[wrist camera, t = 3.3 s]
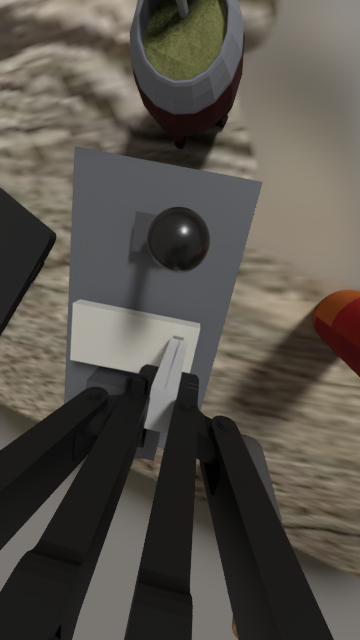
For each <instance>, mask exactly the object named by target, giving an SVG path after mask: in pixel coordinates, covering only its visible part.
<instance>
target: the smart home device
mask: <svg viewBox="0 0 360 640" xmlns="http://www.w3.org/2000/svg"><path fill="white" fill-rule="evenodd" d="M55 240H56V233H55V232H53V231H52V230H51V229H50V228H49V227H47V226H46V225H45V224H44V223H42V222H41V221H40V220H39V219H38V218H36V217H35V216H34V215H33V214H32V213H30V212H29V211H28V210H27V209H26V208H24V207H23V206H22V205H21V204H20V203H18V202H17V201H16V200H15V199H13V198H12V197H11V196H10V195H9V194H7V193H6V192H5V191H4V190H3V189H1V188H0V335H1V334H2V332H3V330H4V329H5V327H6V325H7V323H8V322H9V320H10V318H11V317H12V315H13V313H14V312H15V310H16V308H17V306H18V305H19V303H20V301H21V300H22V298H23V296H24V295H25V293H26V291H27V289H28V288H29V286H30V284H31V283H32V281H33V280H34V279H35V278H36V276H37V274H38V272H39V271H40V269H41V267H42V266H43V264H44V261H45V259H46V257H47V255H48V254H49V252H50V250H51V249H52V247H53V245H54V243H55Z"/></svg>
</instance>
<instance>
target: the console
mask: <svg viewBox="0 0 360 640" xmlns="http://www.w3.org/2000/svg"><path fill="white" fill-rule="evenodd" d="M261 185H262V182H260V181H254V180H249V179H244V178H239V177H233V176H228V175H223V174H218V173H212V172H207V171H202V170H196V169H191V168H186V167H181V166H175V165H170V164H165V163H160V162H154V161H149V160H144V159H139V158H133V157H128V156H123V155H117V154H112V153H107V152H102V151H96V150H91V149H86V148H81V147H75V155H74V179H73V204H72V228H71V253H70V278H69V302H68V327H67V351H66V376H65V401H64V404H65V403H67V402H68V401H70V400H71V399H72V398H74V397H75V396H77V395H78V394H79V393H81V392H82V391H83V390H85V389H87V388H90V387H101V388H104V389H105V390H107V392H108V395H121V394H123V393H124V391H125V383H126V378H127V377H129V376H131V375H136V374H138V373H134V372H129V371H124V370H119V369H114V368H109V367H104V366H99V365H94V364H89V363H84V362H79V361H74V360H70V354H71V332H72V311H73V303H74V302H76V301H78V300H80V299H81V300H86V301H91V302H96V303H101V304H106V305H111V306H116V307H121V308H126V309H131V310H136V311H141V312H146V313H151V314H156V315H161V316H166V317H171V318H176V319H181V320H186V321H190V322H195V323H200V332H199V337H198V341H197V345H196V349H195V353H194V358H193V362H192V366H191V370H190V374H195V375H197V377H198V379H199V392H198V408H199V410H201V406H202V403H203V399H204V395H205V392H206V388H207V384H208V381H209V377H210V373H211V370H212V366H213V362H214V359H215V355H216V351H217V347H218V344H219V340H220V336H221V333H222V329H223V325H224V322H225V318H226V314H227V311H228V307H229V303H230V300H231V296H232V292H233V289H234V285H235V281H236V278H237V274H238V270H239V266H240V263H241V259H242V255H243V252H244V248H245V244H246V241H247V237H248V233H249V230H250V226H251V222H252V219H253V215H254V211H255V208H256V204H257V200H258V196H259V193H260V189H261ZM171 207H186V208H189V209H191V210H193V211H195V212H196V213H198V214H199V215H200V216H201V217H202V218H203V220H204V221H205V223H206V225H207V227H208V230H209V234H210V246H209V250H208V253H207V255H206V257H205V259H204V260H203V261H202V263H201V264H200V265H199V266H197V267H196V268H195V269H193V270H191V271H188V272H185V273H172V272H169V271H166V270H164V269H163V268H161V267H160V266H158V265H157V264H156V263H155V261H154V260H153V258H152V257H151V255H150V253H149V250H148V245H147V240H146V238H145V232H146V230H147V228H149V227H150V225H151V223H152V221H153V220H154V218H155V217H156V216H157V215H158V214H159V213H161V212H162V211H164V210H166V209H168V208H171ZM166 439H167V434H166V433H162V432H158V431H153V430H149V429H145V428H144V427H143V431H142V436H141V439H140V442H139V445H138V447H137V450H136V453H135V456H137V457H141V458H145V459H149V460H152V461H154V457H155V453H156V450H157V447H161V448H165V443H166Z"/></svg>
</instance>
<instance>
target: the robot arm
mask: <svg viewBox="0 0 360 640" xmlns="http://www.w3.org/2000/svg"><path fill="white" fill-rule="evenodd" d="M187 345H188V342H187V341H183V340H178V339H174V338H171V339H170V342H169V344H168V347H167V349H166V352H165V354H164V357H163V359H162V362H161V364H160V367H158V366H153V365H149V364H146V365H144V366H143V367H141V369H140V371H139V373H138V374H136V375H131V376H129V377H127V378H126V383H125V391H124V393H123V394H121V395H108V392H107V390H105V389H104V388H101V387H90V388H87V389H85V390H83V391H82V392H81V393H79V394H78V395H77V396H75V397H74V398H72V399H71V400H70V401H68V402H67V403H65V404H64V405H63V406H61V407H60V408H59V409H57V410H56V411H54V412H53V413H52V414H50V415H49V416H47V417H46V418H45V419H43V420H42V421H40V422H39V423H38V424H36V425H35V426H34V427H32V428H31V429H29V430H28V431H27V432H26V433H24V434H22V435H21V436H20V437H18V438H17V439H16V440H14V441H13V442H11V443H10V444H9V445H7V446H6V447H4V448H3V449H2V450H0V550H1V549H2V548H3V547H4V546H5V545H6V544H7V542H8V541H9V540H10V539H11V538H12V537H13V536H14V535H15V534H16V532H17V531H18V530H19V529H20V528H21V527H22V526H23V525H24V524H25V523H26V522H27V521H28V519H29V518H30V517H31V516H32V515H33V514H34V513H35V512H36V511H37V510H38V509H39V507H40V506H41V505H42V504H43V503H44V502H45V501H46V500H47V499H48V498H49V497H50V495H51V494H52V493H53V492H54V491H55V490H56V489H57V488H58V487H59V485H61V483H62V482H63V481H64V480H65V479H66V478H67V477H68V476H69V475H70V474H71V472H72V471H73V470H74V469H75V468H76V467H77V466H78V465H79V464H80V463H81V461H83V459H84V458H85V457H86V456H87V455H88V456H87V458H86V460H85V461H84V463H83V465H82V467H81V468H80V470H79V472H78V474H77V475H76V477H75V479H74V481H73V482H72V484H71V486H70V488H69V490H68V491H67V493H66V495H65V497H64V498H63V500H62V502H61V503H60V505H59V507H58V509H57V510H56V512H55V514H54V516H53V518H52V519H51V521H50V523H49V524H48V526H47V528H46V530H45V531H44V533H43V535H42V537H41V538H40V540H39V542H38V543H37V545H36V546H35V547H34V548H33V549H32V550H30V551H28V552H26V553H25V555H24V556H23V557H22V558H21V559H20V561H19V562H18V564H17V566H16V567H15V568H14V570H13V572H12V573H11V575H10V577H9V578H8V580H7V582H6V583H5V585H4V587H3V588H2V590H1V592H0V640H72V638H73V634H74V630H75V627H76V623H77V619H78V616H79V613H80V610H81V607H82V604H83V601H84V598H85V595H86V593H87V590H88V587H89V584H90V581H91V578H92V575H93V573H94V570H95V567H96V564H97V561H98V558H99V555H100V552H101V550H102V547H103V544H104V541H105V538H106V536H107V533H108V530H109V527H110V524H111V521H112V519H113V516H114V513H115V510H116V507H117V504H118V501H119V499H120V496H121V493H122V490H123V487H124V484H125V482H126V479H127V476H128V473H129V470H130V467H131V465H132V462H133V459H134V456H135V453H136V450H137V447H138V445H139V442H140V439H141V436H142V431H143V427H144V428H145V429H149V430H153V431H158V432H162V433H166V434H167V439H166V443H165V448H164V452H163V457H162V462H161V467H160V472H159V476H158V481H157V486H156V491H155V495H154V500H153V505H152V510H151V514H150V519H149V524H148V529H147V533H146V538H145V543H144V548H143V552H142V557H141V562H140V566H139V571H138V576H137V581H136V585H135V590H134V595H133V600H132V604H131V609H130V614H129V619H128V624H127V628H126V633H125V637H124V640H192V607H193V605H192V596H191V594H190V570H191V551H192V531H193V513H194V494H195V475H196V458H197V459H199V460H200V466H201V471H202V476H203V480H204V485H205V489H206V494H207V498H208V503H209V507H210V512H211V516H212V521H213V526H214V530H215V535H216V539H217V544H218V548H219V553H220V558H221V562H222V567H223V571H224V576H225V580H226V585H227V589H228V594H229V599H230V603H231V608H232V612H233V617H234V621H235V626H236V631H237V635H238V640H334V639H333V637H332V635H331V633H330V630H329V628H328V626H327V624H326V622H325V620H324V617H323V615H322V613H321V611H320V609H319V606H318V604H317V602H316V599H315V597H314V595H313V593H312V591H311V588H310V586H309V584H308V582H307V580H306V578H305V575H304V573H303V571H302V569H301V566H300V564H299V562H298V560H297V558H296V555H295V553H294V551H293V549H292V546H291V544H290V542H289V540H288V538H287V535H286V533H285V531H284V529H283V527H282V524H281V522H280V520H279V518H278V516H277V513H276V511H275V509H274V507H273V504H272V502H271V500H270V498H269V496H268V493H267V491H266V489H265V487H264V485H263V482H262V480H261V478H260V476H259V474H258V471H257V469H256V467H255V465H254V462H253V460H252V458H251V456H250V454H249V451H248V449H247V447H246V445H245V443H244V440H243V438H242V436H241V434H240V432H239V429H238V427H237V425H236V424H235V422H234V421H232V420H231V419H230V418H228V417H225V416H215V417H214V418H213V419H211V418H209V417H207V416H205V415H204V414H203V413H201V411H200V410H199V408H198V392H199V379H198V377H197V375H195V374H190V373H186V372H182V369H183V364H184V359H185V355H186V350H187Z"/></svg>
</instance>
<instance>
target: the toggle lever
mask: <svg viewBox="0 0 360 640" xmlns="http://www.w3.org/2000/svg"><path fill="white" fill-rule="evenodd" d="M145 238H146V240H147V245H148V250H149V253H150V255H151V257H152V258H153V260H154V261H155V263H156V264H157V265H158V266H160V267H161V268H163V269H164V270H166V271H169V272H172V273H185V272H188V271H191V270H193V269H195V268H196V267H197V266H199V265H200V264H201V263H202V261H203V260H204V259H205V257H206V255H207V253H208V250H209V246H210V234H209V230H208V227H207V225H206V223H205V221H204V220H203V218H202V217H201V216H200V215H199V214H198V213H196V212H195V211H193V210H191V209H189V208H186V207H171V208H168V209H166V210H164V211H162V212H161V213H159V214H158V215H157V216H156V217H155V218H154V220H153V221H152V223H151V225H150V227H149V228H147V230H146V232H145Z"/></svg>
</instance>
